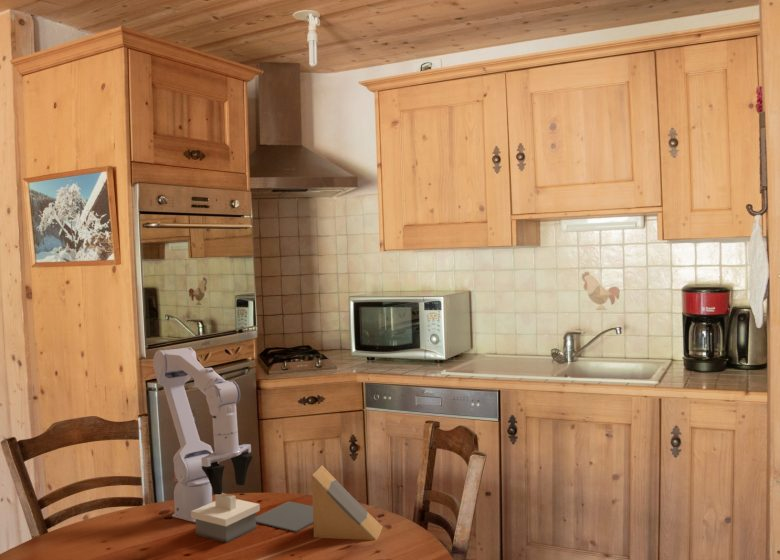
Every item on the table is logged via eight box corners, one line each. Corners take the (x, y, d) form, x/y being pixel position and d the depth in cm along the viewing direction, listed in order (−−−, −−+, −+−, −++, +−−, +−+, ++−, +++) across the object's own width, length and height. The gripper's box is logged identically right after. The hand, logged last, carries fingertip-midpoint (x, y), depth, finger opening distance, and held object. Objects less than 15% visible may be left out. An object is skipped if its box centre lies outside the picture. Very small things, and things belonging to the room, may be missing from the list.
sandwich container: (377, 541, 162) (375, 476, 162) (313, 538, 165) (311, 474, 164) (384, 527, 171) (382, 465, 170) (323, 524, 173) (321, 464, 173)
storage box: (196, 534, 168) (195, 514, 168) (226, 520, 177) (225, 501, 177) (226, 542, 163) (225, 521, 163) (256, 528, 171) (255, 507, 171)
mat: (249, 521, 176) (249, 519, 176) (288, 502, 189) (288, 501, 189) (296, 532, 168) (296, 530, 168) (333, 512, 181) (333, 510, 181)
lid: (191, 517, 168) (190, 498, 168) (225, 502, 178) (225, 484, 177) (225, 526, 162) (225, 506, 162) (259, 510, 171) (259, 491, 171)
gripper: (215, 440, 160) (219, 499, 160) (258, 427, 173) (262, 482, 173) (193, 438, 164) (197, 496, 164) (237, 425, 177) (241, 479, 176)
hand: (229, 489), depth 169 cm, fingers open, 7 cm apart
